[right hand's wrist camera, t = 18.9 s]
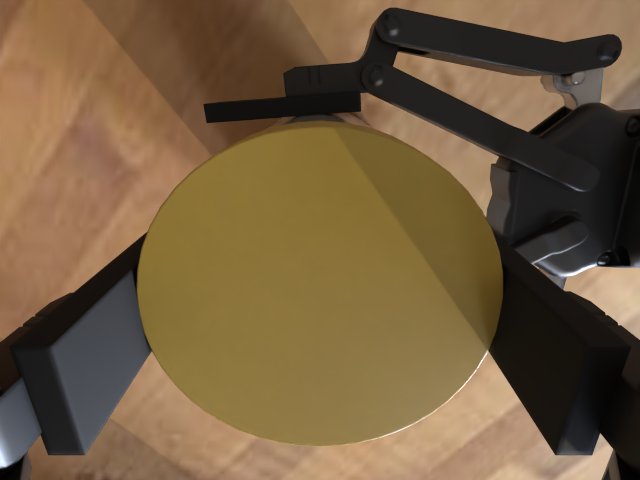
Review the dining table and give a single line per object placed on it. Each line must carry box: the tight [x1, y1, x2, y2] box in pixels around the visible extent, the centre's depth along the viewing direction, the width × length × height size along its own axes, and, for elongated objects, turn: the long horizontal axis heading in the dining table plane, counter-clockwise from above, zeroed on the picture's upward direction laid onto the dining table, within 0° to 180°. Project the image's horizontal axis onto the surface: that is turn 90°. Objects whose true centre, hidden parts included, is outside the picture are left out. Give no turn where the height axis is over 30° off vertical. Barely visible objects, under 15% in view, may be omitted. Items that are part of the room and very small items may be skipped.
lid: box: [137, 121, 503, 446], centre depth 11 cm, size 10×10×2 cm
